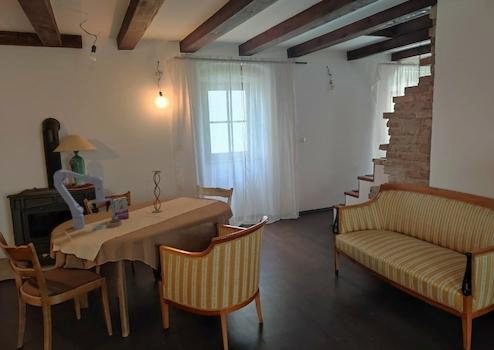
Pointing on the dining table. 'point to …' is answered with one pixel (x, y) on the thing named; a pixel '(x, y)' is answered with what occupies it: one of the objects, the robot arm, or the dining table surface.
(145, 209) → the dining table surface
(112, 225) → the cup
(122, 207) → the candy bar box
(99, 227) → the checker
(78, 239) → the dining table surface
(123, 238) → the dining table surface
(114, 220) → the cell
